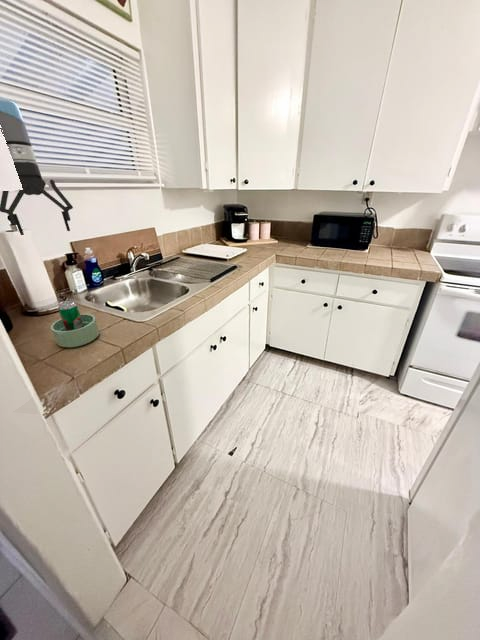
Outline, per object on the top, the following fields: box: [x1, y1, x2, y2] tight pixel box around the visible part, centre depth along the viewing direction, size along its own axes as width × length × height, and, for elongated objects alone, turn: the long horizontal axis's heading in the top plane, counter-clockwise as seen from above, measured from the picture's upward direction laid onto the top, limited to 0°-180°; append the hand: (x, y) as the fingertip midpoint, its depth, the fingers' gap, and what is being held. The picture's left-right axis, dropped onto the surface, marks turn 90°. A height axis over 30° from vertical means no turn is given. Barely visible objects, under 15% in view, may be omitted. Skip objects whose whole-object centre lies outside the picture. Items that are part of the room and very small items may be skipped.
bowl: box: [50, 313, 100, 348], centre depth 84 cm, size 12×12×6 cm
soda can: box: [57, 300, 84, 331], centre depth 82 cm, size 5×5×12 cm
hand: (46, 232), depth 91 cm, fingers open, 13 cm apart
